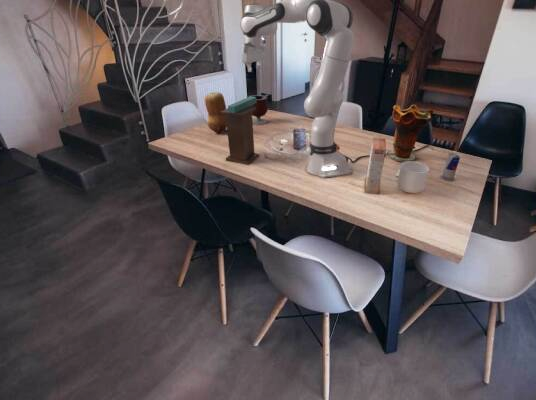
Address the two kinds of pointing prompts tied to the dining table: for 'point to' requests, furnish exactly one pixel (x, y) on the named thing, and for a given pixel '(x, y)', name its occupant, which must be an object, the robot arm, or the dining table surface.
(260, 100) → the mate gourd
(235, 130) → the plinth
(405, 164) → the handleless ceramic cup
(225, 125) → the butternut squash
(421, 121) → the decorative vase
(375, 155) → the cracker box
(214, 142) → the dining table surface
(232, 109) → the batten
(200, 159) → the dining table surface
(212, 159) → the dining table surface
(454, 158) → the energy drink
